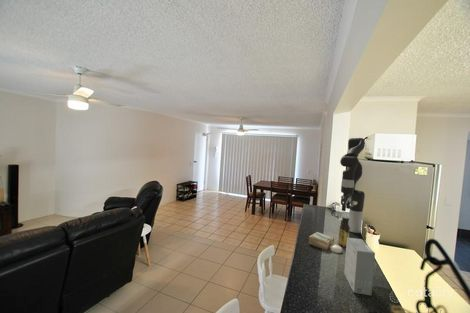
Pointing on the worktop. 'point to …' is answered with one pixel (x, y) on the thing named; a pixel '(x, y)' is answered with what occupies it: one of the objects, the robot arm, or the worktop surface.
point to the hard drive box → (359, 266)
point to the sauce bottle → (344, 232)
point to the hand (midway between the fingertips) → (345, 209)
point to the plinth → (321, 240)
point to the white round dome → (335, 248)
